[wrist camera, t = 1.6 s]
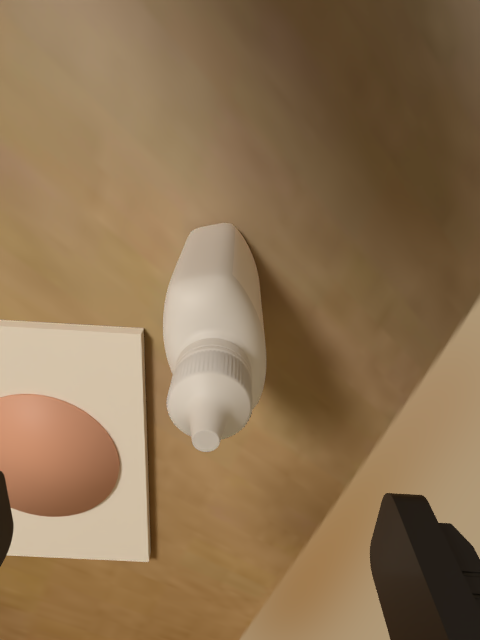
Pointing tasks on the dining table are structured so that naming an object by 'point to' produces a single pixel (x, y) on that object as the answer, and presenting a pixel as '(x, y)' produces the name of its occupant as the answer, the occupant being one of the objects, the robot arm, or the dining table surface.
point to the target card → (75, 440)
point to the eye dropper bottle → (214, 336)
